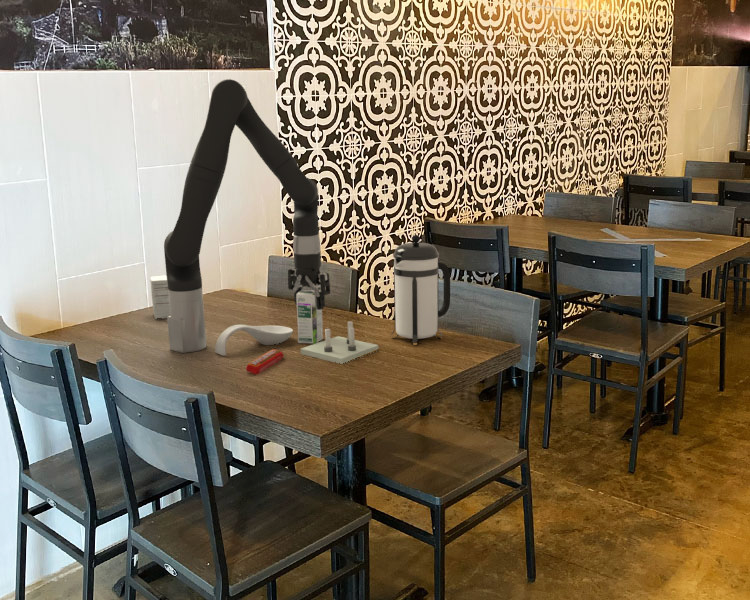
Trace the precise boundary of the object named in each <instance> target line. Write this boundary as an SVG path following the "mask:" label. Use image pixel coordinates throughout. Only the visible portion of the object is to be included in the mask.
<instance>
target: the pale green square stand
mask: <svg viewBox="0 0 750 600" xmlns="http://www.w3.org/2000/svg"><path fill="white" fill-rule="evenodd" d="M353 324H354V323H353V321H352V320H351V321H350V320H349V321H347V337H343V336H339V335H338V336H337V335H336V336H334V337H331V328H325V329H324V337H325V339H324V340H321V341H320V342H318V343H316V344H309V345H308V346H305V347H302V348H301V347H300V355H304V356H307V357H312V358H315V359H320V360H323V361H327V362H331V363H335V362H336V364H339V363H340V365H343V363H344V364H346V363H349V362H351V361H350V360H352V359H354V360H356V359H355V358H357V357H359V356H362V355H364V354H367V353H369V352H372V351H374V350H377V349H379V348H380V347H379V344H375V343H370V342H365V341H362V340H357V339H355V327H354V326H353ZM362 357H363V356H362ZM357 359H358V358H357ZM348 361H349V362H348ZM352 361H353V360H352ZM345 362H346V363H345Z"/></svg>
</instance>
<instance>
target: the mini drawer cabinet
mask: <svg viewBox="0 0 750 600" xmlns="http://www.w3.org/2000/svg"><path fill="white" fill-rule="evenodd" d="M149 279H150V281H149V282H150V290H151V291H150V292H151V301H152V311H153V312H152V314H153V315H154V316H153V317H154V320H158V319H157V318H162V319H167V317H168V316H170V306H169V294H168V283H167V276H166V275H157V276H156V275H154V276H150V278H149Z"/></svg>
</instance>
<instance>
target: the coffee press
mask: <svg viewBox="0 0 750 600" xmlns="http://www.w3.org/2000/svg"><path fill="white" fill-rule="evenodd" d="M411 240H412V242H407V243H403V244H400V245H398V246H397V247H396V248H395V251H394V252H393V253H392V257H393V260H394V261H393V290H394V291H393V293H394V295H393V298H394V299H393V300H394V301H393V302H394V304H393V305H394V306H393V307H394V330H393V331H392V333H391V335H393V334H394V333H395V332H396V333H397V335H396V336H397V337H399V336H400V337H402V338H406V339H412V344H413V343H417V341H418V342H419V339H420V340H422V339H428V338H431V337H435V336H436V334H437V332H438V333H439V334H440V335H441V337H442V336H443V337H444V335H443V333H442V332H441V330H440V327H439V325H440V319H439V318H441V317H443V316H444V315H446V313H447V312H448V310H449V308H450V304H451V274H450V269H449V267H448V266H447V264H445V263H443V262H439V261H438V260H439V257H440V253H439V252H438V250H437V248H436V246H435V245H433V244H430V243H426V242H420V240H421V237H420V236H419V235H417V234H414V235H412V238H411ZM439 270H440V271H441V272H442V274H443V275H442V277H443V303H442V307H441V308H439V302H440V301H439V298H440V296H439V284H440V283H439V280H440V279H439ZM439 309H440V310H439ZM391 335H390V336H391Z"/></svg>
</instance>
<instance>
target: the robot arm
mask: <svg viewBox="0 0 750 600" xmlns="http://www.w3.org/2000/svg"><path fill="white" fill-rule="evenodd" d="M235 126H236V127H237V128H238V129H239V130H240V132H242V134H243V135H244V136H245V137H246V139H247V140H248V141H249V142H250V144H251V146H252V147H253V148H254V150H255V151H256V153H257V154H258V156H259V157H260V159H261V160H262V161H263V162H264V164H265V165H266V166H267V168H268V169H269V170H270V171H271V173H273V175H274V176H275V177H276V178H277V180H278V181H279V182H280V184H281V186H282V187H283V189H284V190H285V192H286V193H287V195H288V196H289V198H290V199H291V200H292V202H293V209H294V213H293V214H294V215H293V217H292V218H293V220H292V227H293V229H292V230H293V240H292V246H293V264H294V265H293V268H289V269H288V270H287V287H288V288H287V289H288V290H290V291H292V292H293V295H294V296H293V297H294V298H293V299H294V303H295V306H297V302H296V294H297V293H298V292H300V291H302V290H303V288H304V287H307V288H310V289H311V291H315V293H316V295H317V297H316V298H317V309H318V310H321V309H322V310H324V309H325V306H326V304H325V303H326V301H325V296H326V295H330V294H331V286H330V285H331V283H330V274H329V273H328V272H325V273H321V271H320V268H321V266H322V253H321V252H322V251H321V240H320V227H319V218H318V216H319V215H318V209H319V205H318V204H319V190H318V185H317V183H316V182H315V180H313V179H311V178H309V177H307V176H306V175H305V173H303V171H302V170H301V169H300V167H299V165H298V164H299V163H298V161H296V159H295V158H294V156H293V155H292V153H291V152H290V151H289V150H288V149H287V147H286V146H285V144H284V143H283V142H282V141H281V140H280V139H279V138H278V137H277V136H276V134H274V133H273V131H272V130H271V129H270V128H269V127H268V126H267V125H266V123H265V122H264V121H263V120H262V118H261V117H260V115H259V114H258V113H257V111H256V110H255V107H254V106H253V104H252V102H251V100H250V99H249V97H248V94H247V91H246V89H245V88H244V87H243V85H242V84H241V83H240V82H238V81H237V80H235V79H230V78H228V79H222V80H220V81H219V82H217V83H216V84H215V85H214V87H213V88H212V91H211V96H210V100H209V106H208V111H207V115H206V120H205V124H204V126H203V129H202V132H201V134H200V138H199V140H198V142H197V144H196V147H195V149H194V153H193V154H192V158H191V160H190V163H189V167H188V170H187V174H186V177H185V180H184V181H185V182H184V186H183V190H182V198H181V205H180V207H181V208H180V212H179V215H178V218H177V221H176V223H175V225H174V228H173V230H172V231H171V232H169V233H168V234H167V235H166V237H165V239H164V243H163V251H164V262H165V263H164V264H165V271H166V272H165V274H166V276H167V283H168V294H169V306H170V316H168V317H167V318H166V319H167V332H168V341H169V343H168V344H169V350H171V351H175V352H179V353H182V354H185V353H193V352H198V351H201V350H203V349H206V348H207V337H206V335H207V333H206V322H205V307H204V297H203V295H204V294H203V279H202V273H201V267H200V263H201V262H200V253H201V248H202V244H203V243H202V242H203V238H204V233H205V229H206V225H207V221H208V218H209V215H210V213H211V210H212V208H213V207H214V204H215V201H216V198H217V196H218V193H219V190H220V188H221V184H222V181H223V178H224V174H225V171H226V167H227V164H228V159H229V154H230V153H229V152H230V145H231V139H232V134H233V132H234V129H235ZM319 291H320V292H319Z"/></svg>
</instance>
